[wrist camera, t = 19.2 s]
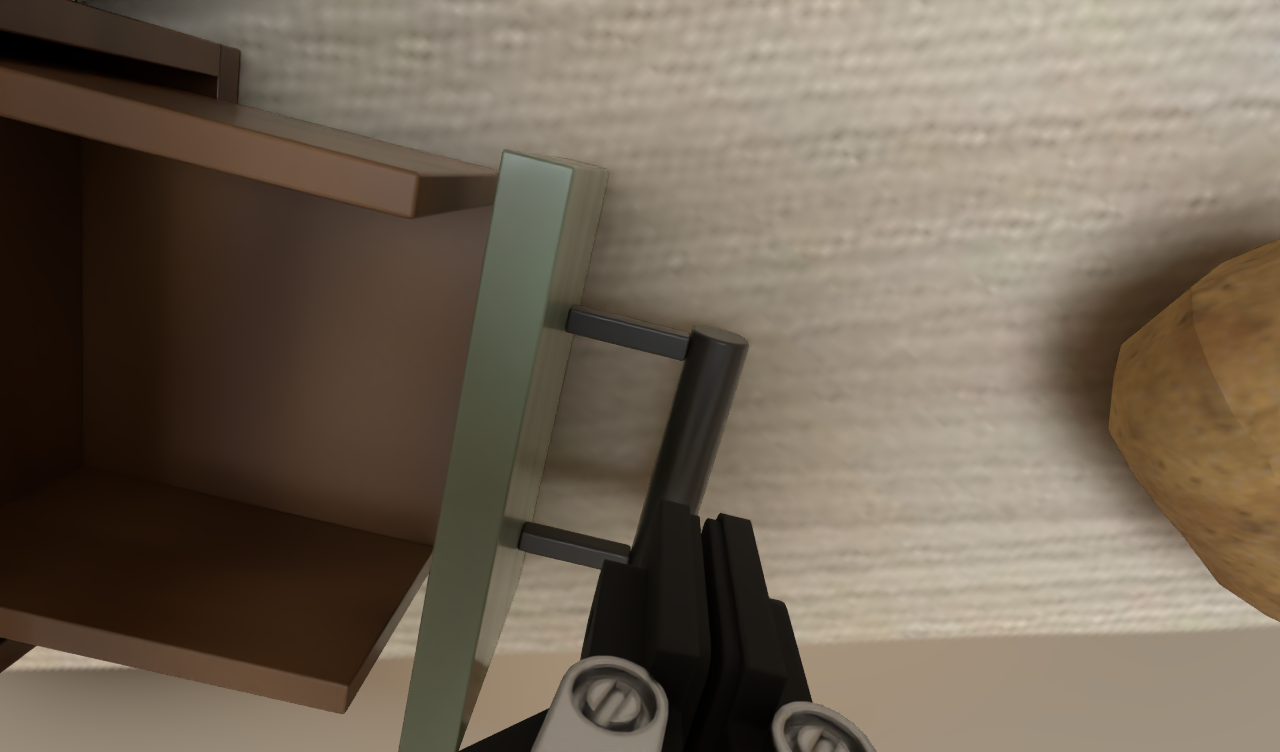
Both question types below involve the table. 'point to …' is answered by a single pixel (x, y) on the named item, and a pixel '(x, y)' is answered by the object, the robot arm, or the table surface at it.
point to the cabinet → (69, 31)
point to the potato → (1212, 420)
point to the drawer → (292, 390)
